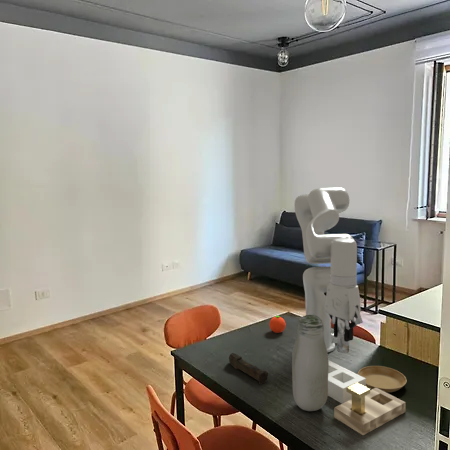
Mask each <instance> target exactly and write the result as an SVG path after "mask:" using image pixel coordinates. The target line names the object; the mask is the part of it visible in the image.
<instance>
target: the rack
mask: <svg viewBox="0 0 450 450" xmlns="http://www.w3.org/2000/svg"><path fill="white" fill-rule="evenodd" d="M328 361H329V366H328V396H327V397H330V398H332V399H333V400H334V401H337V402H338V403H339V404H343V403H345V402H347V401H349V400H351V399H352V394H350V393H348V392H347V387H349V386H351V385H353V384H355V383H359V384H361V385H363V386H365V387H367V386H366V378H364V377H362V376H360V375H358V373H355V372H353V371H352V370H349V369H347V368H345V367H344V366H341V365H339V364H337V363H335V362H334V361H331V360H329V359H328Z"/></svg>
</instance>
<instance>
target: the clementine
mask: <svg viewBox="0 0 450 450" xmlns="http://www.w3.org/2000/svg"><path fill="white" fill-rule="evenodd" d="M286 325H287V324H286V320H285V319H284V318H283V317H281V316H280V315H275V316H274V317H272V318H271V319H270V321H269V325H268V326H269V329H270V330H271V331H272V332H273V333H275V334H281V333H282V332H284V330H285V329H286Z"/></svg>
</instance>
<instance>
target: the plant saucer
mask: <svg viewBox="0 0 450 450" xmlns="http://www.w3.org/2000/svg"><path fill="white" fill-rule="evenodd" d="M357 374H358V375H360V376H362V377H364V378H366V387H367V388H369V389H370V390H372V389H374V388H378V389H380V390H382V391H384V392H386V393H388V394H390V393H394V392H397V391H399V390H400V389H402V388H403V387H404V386H405V385H406V384H407V377H406V376H405V375H404V374H403V373H401V372H400V371H398V370H397V369H394V368H391V367H389V366H388V367H387V366H384V365H383V366H382V365H368V366H364V367H362V368H361V369H359V370H358V372H357Z"/></svg>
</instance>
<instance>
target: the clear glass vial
mask: <svg viewBox="0 0 450 450" xmlns="http://www.w3.org/2000/svg"><path fill="white" fill-rule="evenodd" d="M344 329H346V323H345V320H343V319H340V318H338V317H337V338H336V339H337V341H336V342H337V343H336V344H337V346H336V347H337V352H338V353H340V354H348V353H350V341H347V342H346V341H345V340H344Z"/></svg>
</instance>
